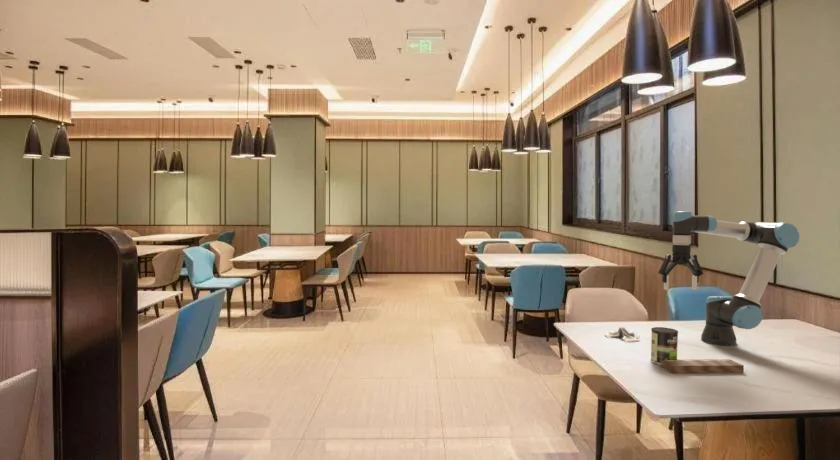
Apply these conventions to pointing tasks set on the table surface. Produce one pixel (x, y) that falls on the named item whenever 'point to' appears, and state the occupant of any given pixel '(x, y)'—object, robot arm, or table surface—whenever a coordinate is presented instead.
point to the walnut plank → (702, 366)
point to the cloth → (622, 335)
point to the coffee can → (663, 344)
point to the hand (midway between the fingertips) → (680, 289)
